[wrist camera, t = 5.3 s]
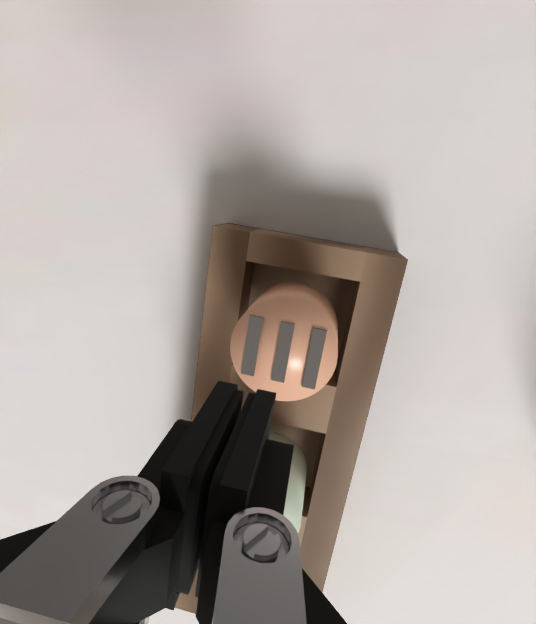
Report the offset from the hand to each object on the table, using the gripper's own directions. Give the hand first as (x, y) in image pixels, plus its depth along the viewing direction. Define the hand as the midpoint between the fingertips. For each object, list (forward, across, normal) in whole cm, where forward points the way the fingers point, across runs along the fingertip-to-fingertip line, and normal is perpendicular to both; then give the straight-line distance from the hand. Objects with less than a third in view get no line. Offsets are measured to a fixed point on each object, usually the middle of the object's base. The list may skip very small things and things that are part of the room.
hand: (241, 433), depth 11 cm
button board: (+14, 0, +9) cm, 16 cm away
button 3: (+11, 0, 0) cm, 11 cm away
